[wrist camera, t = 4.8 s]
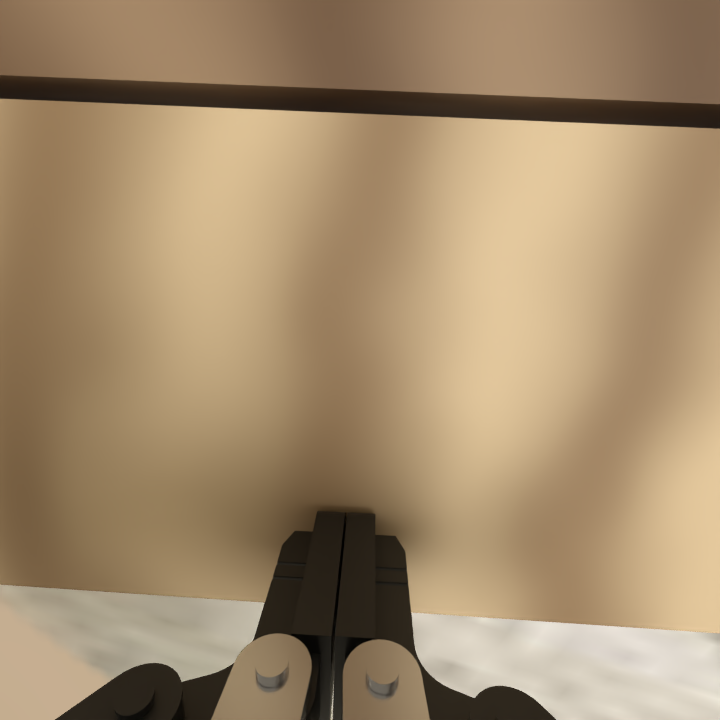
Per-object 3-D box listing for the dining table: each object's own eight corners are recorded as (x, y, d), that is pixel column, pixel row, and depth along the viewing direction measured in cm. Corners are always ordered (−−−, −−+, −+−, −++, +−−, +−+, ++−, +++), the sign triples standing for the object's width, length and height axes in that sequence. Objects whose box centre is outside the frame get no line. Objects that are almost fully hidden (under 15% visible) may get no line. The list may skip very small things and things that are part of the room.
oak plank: (860, 155, 10) (971, 139, 8) (708, 580, 13) (760, 636, 11) (-88, 114, 10) (-188, 90, 8) (11, 534, 14) (-44, 581, 12)
